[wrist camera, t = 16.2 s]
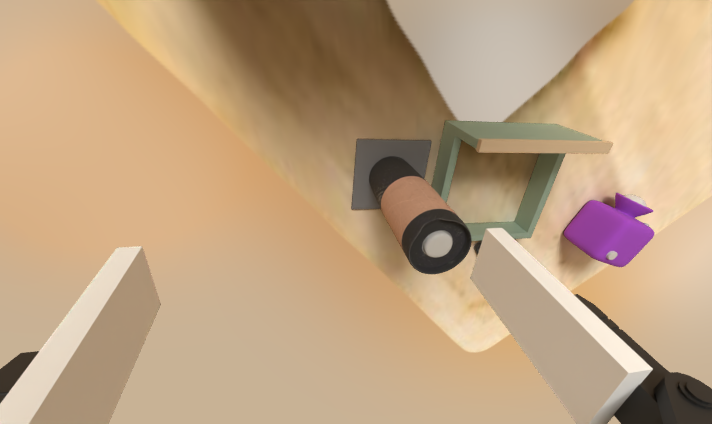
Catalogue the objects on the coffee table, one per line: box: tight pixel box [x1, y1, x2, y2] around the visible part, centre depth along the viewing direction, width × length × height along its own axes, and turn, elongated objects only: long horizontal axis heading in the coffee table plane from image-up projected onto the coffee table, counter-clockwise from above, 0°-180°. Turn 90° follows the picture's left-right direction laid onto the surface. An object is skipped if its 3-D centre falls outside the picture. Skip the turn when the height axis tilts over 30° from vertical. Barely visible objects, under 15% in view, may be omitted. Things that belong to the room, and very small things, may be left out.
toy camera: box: [564, 193, 654, 267], centre depth 62 cm, size 11×14×10 cm
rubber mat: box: [351, 139, 432, 209], centre depth 52 cm, size 12×12×1 cm
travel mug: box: [369, 156, 472, 274], centre depth 44 cm, size 8×8×20 cm
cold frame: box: [432, 121, 613, 241], centre depth 52 cm, size 21×20×11 cm
